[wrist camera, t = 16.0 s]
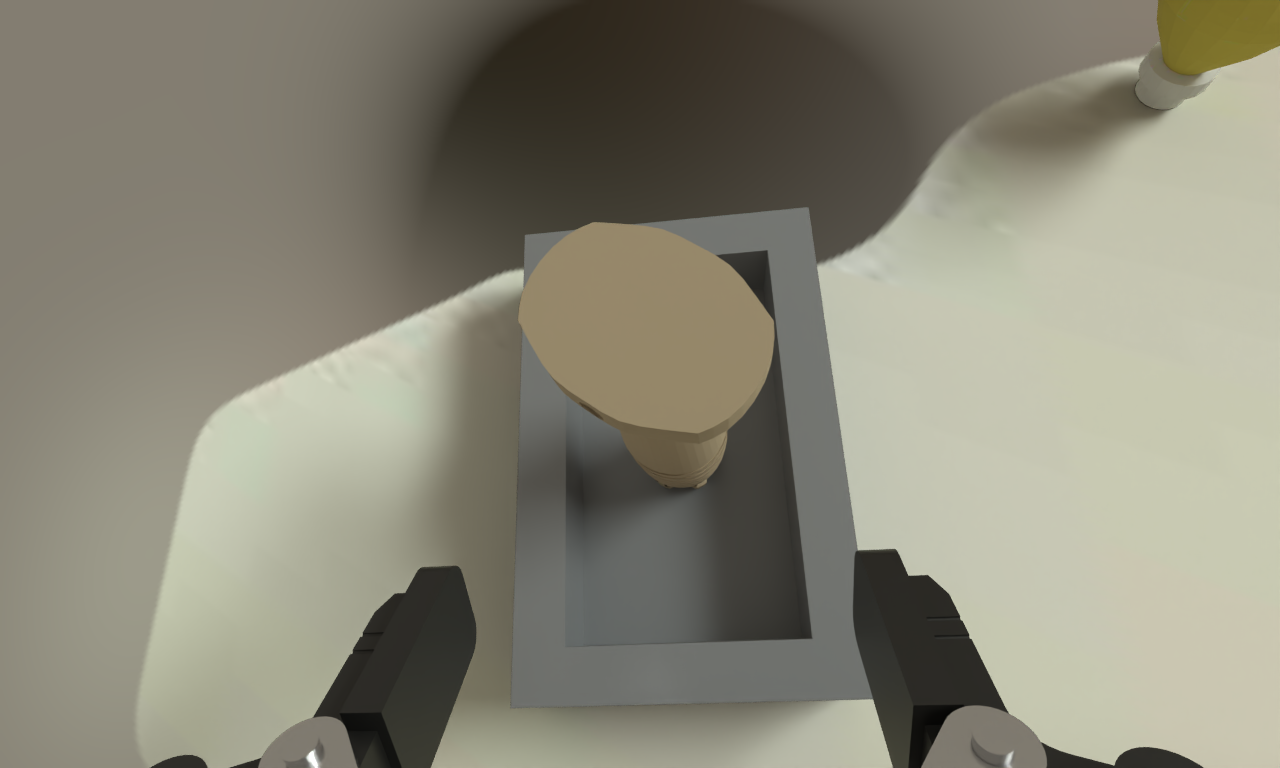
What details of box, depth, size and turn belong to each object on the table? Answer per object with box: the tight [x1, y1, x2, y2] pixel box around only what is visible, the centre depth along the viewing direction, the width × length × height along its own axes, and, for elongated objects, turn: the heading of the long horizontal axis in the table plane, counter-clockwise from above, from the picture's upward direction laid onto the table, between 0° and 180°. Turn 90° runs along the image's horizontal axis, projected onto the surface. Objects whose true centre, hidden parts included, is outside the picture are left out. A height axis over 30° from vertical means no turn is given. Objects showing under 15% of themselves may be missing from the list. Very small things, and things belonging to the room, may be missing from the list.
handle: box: [518, 222, 775, 489], centre depth 23 cm, size 5×6×15 cm
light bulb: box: [1135, 0, 1280, 110], centre depth 30 cm, size 7×7×10 cm
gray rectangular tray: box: [511, 207, 873, 708], centre depth 29 cm, size 20×13×4 cm, turn 2°
